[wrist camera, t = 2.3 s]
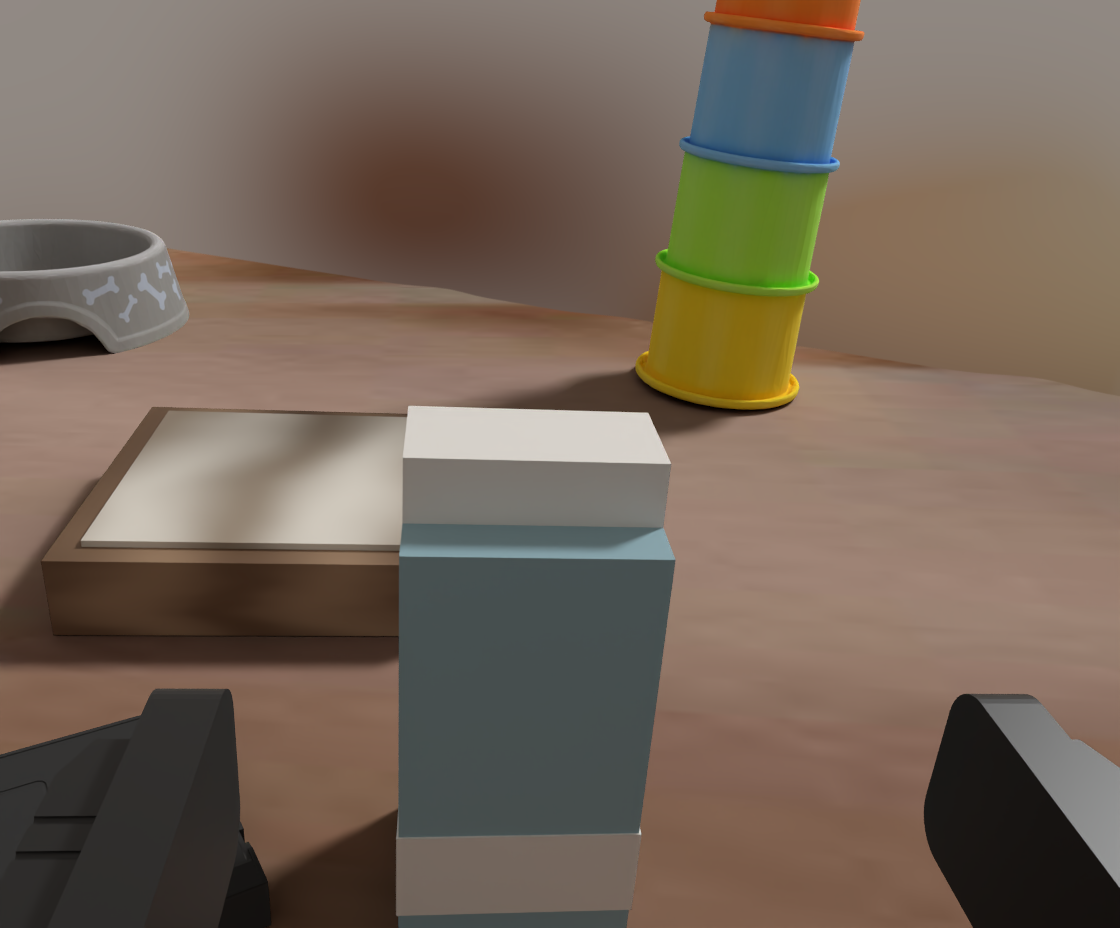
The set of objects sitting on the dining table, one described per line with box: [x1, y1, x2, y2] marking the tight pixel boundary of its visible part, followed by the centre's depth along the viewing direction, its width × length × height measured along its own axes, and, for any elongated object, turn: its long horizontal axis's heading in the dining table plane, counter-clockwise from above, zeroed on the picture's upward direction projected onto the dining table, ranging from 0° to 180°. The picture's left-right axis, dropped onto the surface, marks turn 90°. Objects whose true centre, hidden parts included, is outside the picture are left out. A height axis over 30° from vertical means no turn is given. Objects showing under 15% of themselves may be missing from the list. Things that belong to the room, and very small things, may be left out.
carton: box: [396, 406, 675, 928], centre depth 25 cm, size 6×6×13 cm
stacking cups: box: [635, 0, 864, 410], centre depth 57 cm, size 10×10×35 cm
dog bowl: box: [0, 219, 189, 353], centre depth 66 cm, size 17×18×5 cm
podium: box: [41, 407, 408, 636], centre depth 42 cm, size 14×14×3 cm
